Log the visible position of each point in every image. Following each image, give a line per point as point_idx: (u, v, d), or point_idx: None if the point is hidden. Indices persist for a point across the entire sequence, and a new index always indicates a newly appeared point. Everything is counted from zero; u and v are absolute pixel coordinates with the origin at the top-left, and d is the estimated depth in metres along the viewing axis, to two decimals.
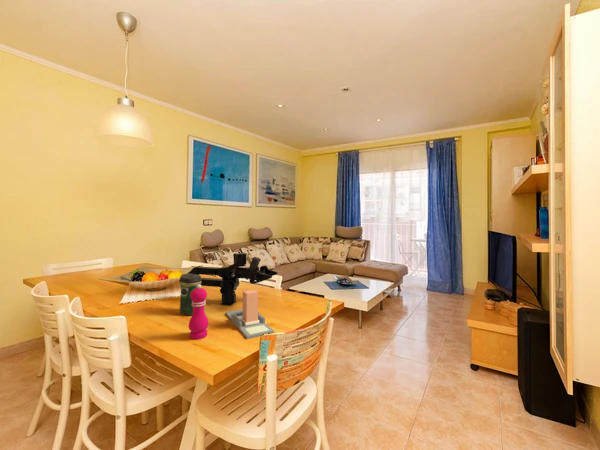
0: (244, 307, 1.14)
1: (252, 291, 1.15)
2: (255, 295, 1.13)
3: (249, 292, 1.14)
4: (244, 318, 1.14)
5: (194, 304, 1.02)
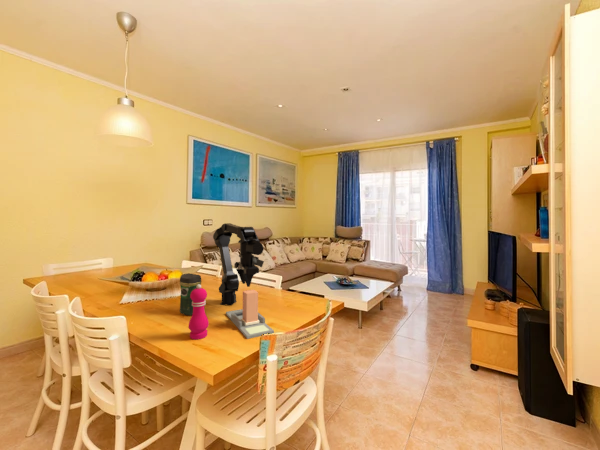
0: (244, 307, 1.14)
1: (252, 291, 1.15)
2: (255, 295, 1.13)
3: (249, 292, 1.14)
4: (244, 318, 1.14)
5: (194, 304, 1.02)
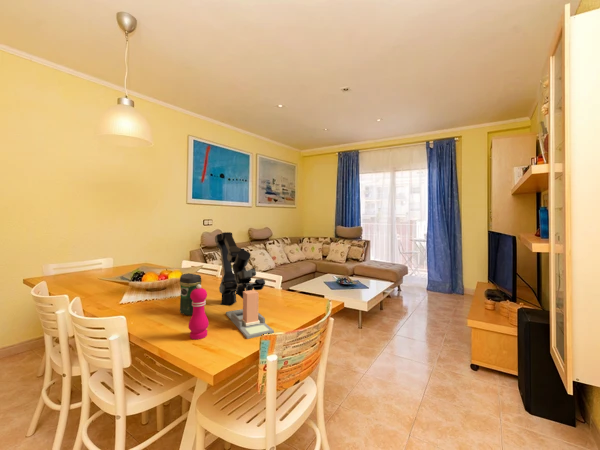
0: (244, 307, 1.14)
1: (252, 291, 1.15)
2: (255, 295, 1.13)
3: (250, 292, 1.14)
4: (244, 318, 1.14)
5: (194, 304, 1.02)
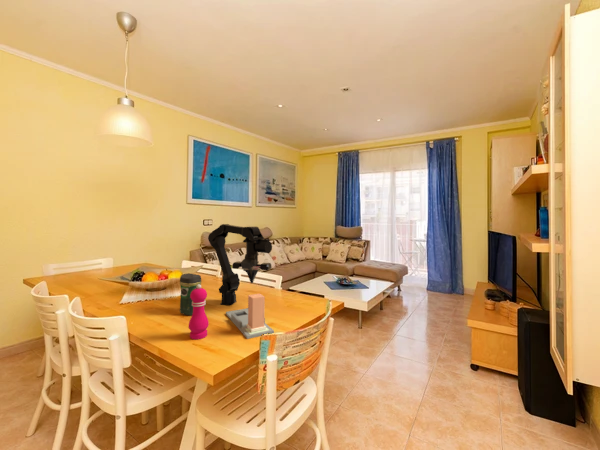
0: (249, 312, 1.08)
1: (258, 295, 1.09)
2: (261, 300, 1.07)
3: (256, 296, 1.08)
4: (250, 324, 1.08)
5: (194, 304, 1.02)
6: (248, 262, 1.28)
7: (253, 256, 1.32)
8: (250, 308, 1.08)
